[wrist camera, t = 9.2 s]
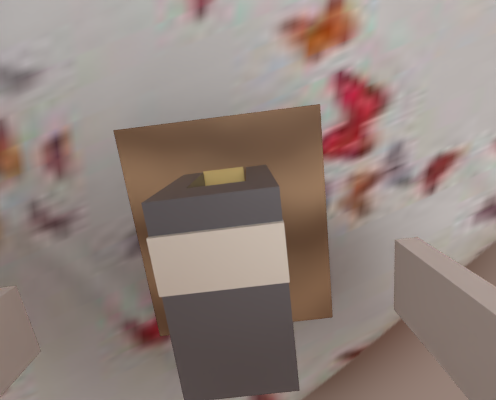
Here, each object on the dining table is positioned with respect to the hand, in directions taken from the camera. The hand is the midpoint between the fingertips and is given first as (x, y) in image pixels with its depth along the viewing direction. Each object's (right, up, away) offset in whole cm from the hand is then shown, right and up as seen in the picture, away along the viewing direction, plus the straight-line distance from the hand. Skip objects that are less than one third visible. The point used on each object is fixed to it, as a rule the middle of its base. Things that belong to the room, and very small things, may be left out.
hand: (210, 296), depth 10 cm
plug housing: (0, +1, +8) cm, 8 cm away
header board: (0, +2, +9) cm, 10 cm away
